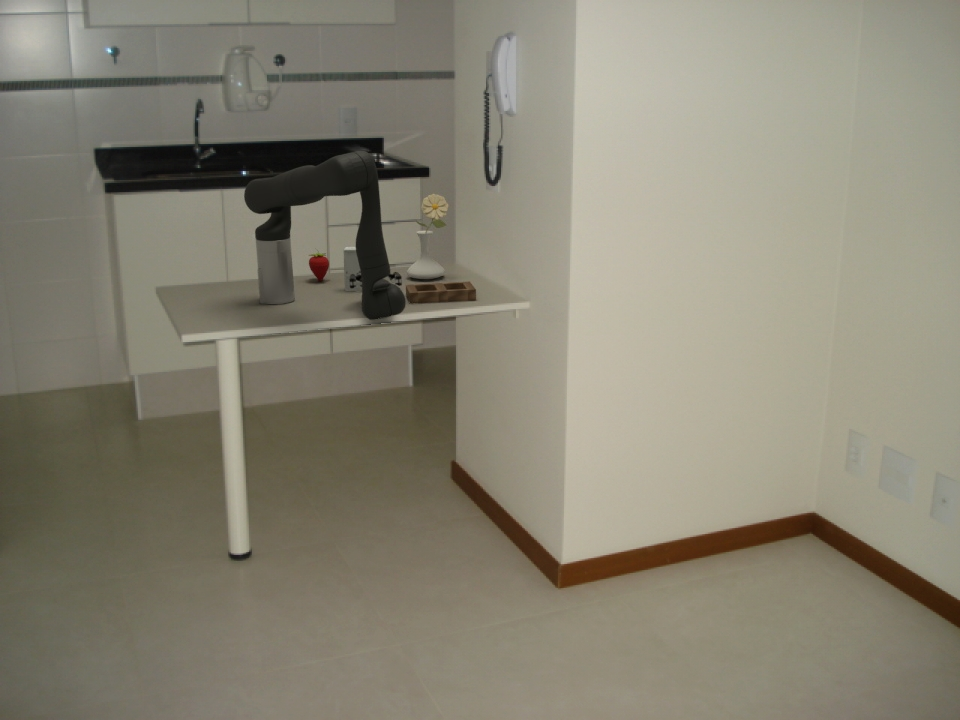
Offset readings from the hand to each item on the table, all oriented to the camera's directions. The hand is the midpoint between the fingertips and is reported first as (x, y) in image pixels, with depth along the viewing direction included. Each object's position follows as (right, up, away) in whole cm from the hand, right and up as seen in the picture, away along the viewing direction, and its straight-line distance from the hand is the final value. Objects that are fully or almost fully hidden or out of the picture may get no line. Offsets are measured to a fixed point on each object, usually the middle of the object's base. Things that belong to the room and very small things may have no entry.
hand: (372, 274), depth 272 cm
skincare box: (-6, -4, +13) cm, 15 cm away
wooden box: (+18, -6, +3) cm, 19 cm away
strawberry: (-18, 0, +25) cm, 31 cm away
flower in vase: (+14, +1, +27) cm, 31 cm away
